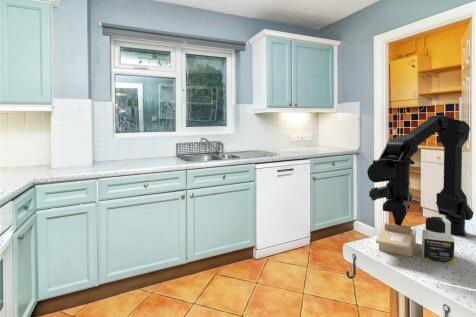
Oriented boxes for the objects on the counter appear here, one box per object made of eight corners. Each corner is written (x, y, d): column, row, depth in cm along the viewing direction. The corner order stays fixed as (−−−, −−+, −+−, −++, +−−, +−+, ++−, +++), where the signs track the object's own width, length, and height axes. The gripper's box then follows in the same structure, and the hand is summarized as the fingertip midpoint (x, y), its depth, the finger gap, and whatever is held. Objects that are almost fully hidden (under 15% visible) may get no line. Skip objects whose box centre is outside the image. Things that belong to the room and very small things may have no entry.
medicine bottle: (423, 261, 85) (424, 220, 84) (421, 251, 91) (422, 213, 90) (453, 265, 82) (455, 223, 81) (449, 255, 88) (451, 216, 87)
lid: (383, 230, 96) (383, 222, 96) (413, 235, 91) (413, 226, 91) (375, 242, 87) (375, 233, 86) (409, 248, 82) (409, 239, 81)
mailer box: (385, 239, 102) (385, 225, 102) (415, 244, 97) (416, 229, 96) (378, 251, 92) (379, 236, 92) (411, 258, 87) (412, 241, 87)
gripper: (377, 173, 105) (376, 216, 107) (364, 182, 90) (364, 231, 92) (413, 175, 99) (412, 220, 100) (406, 185, 83) (405, 238, 85)
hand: (397, 227), depth 94 cm, fingers closed
